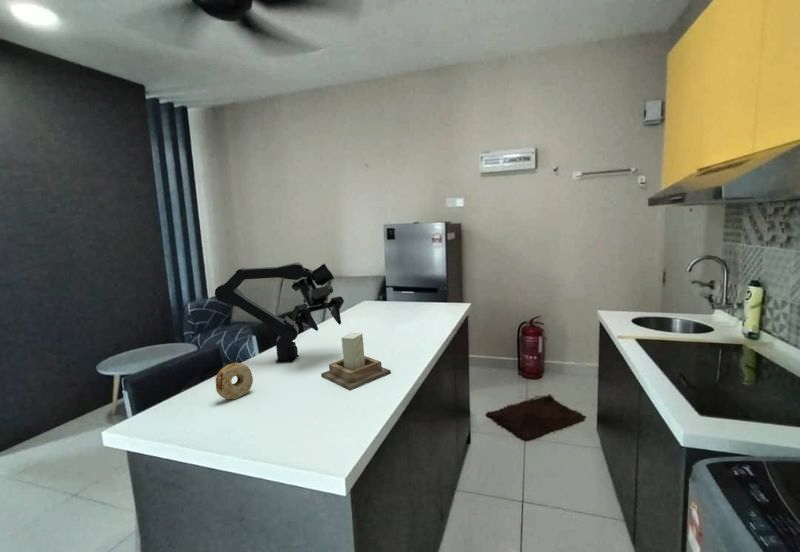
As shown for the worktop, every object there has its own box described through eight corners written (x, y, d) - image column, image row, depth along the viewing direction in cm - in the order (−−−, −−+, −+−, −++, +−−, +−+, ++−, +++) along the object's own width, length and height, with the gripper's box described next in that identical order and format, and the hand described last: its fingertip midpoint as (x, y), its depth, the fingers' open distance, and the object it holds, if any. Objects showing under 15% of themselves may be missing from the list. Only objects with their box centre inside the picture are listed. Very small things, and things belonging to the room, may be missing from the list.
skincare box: (356, 376, 119) (352, 338, 118) (344, 374, 121) (340, 337, 119) (366, 368, 125) (363, 333, 123) (354, 367, 127) (351, 332, 125)
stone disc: (222, 405, 108) (217, 371, 106) (216, 402, 110) (211, 369, 109) (256, 391, 115) (252, 360, 114) (250, 388, 118) (246, 357, 116)
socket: (321, 376, 124) (320, 364, 123) (361, 361, 134) (360, 351, 134) (349, 390, 112) (348, 377, 111) (390, 373, 122) (390, 361, 122)
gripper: (292, 282, 127) (311, 319, 121) (339, 274, 139) (359, 307, 133) (283, 302, 134) (302, 338, 127) (329, 293, 146) (348, 325, 140)
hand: (329, 326), depth 132 cm, fingers open, 9 cm apart
